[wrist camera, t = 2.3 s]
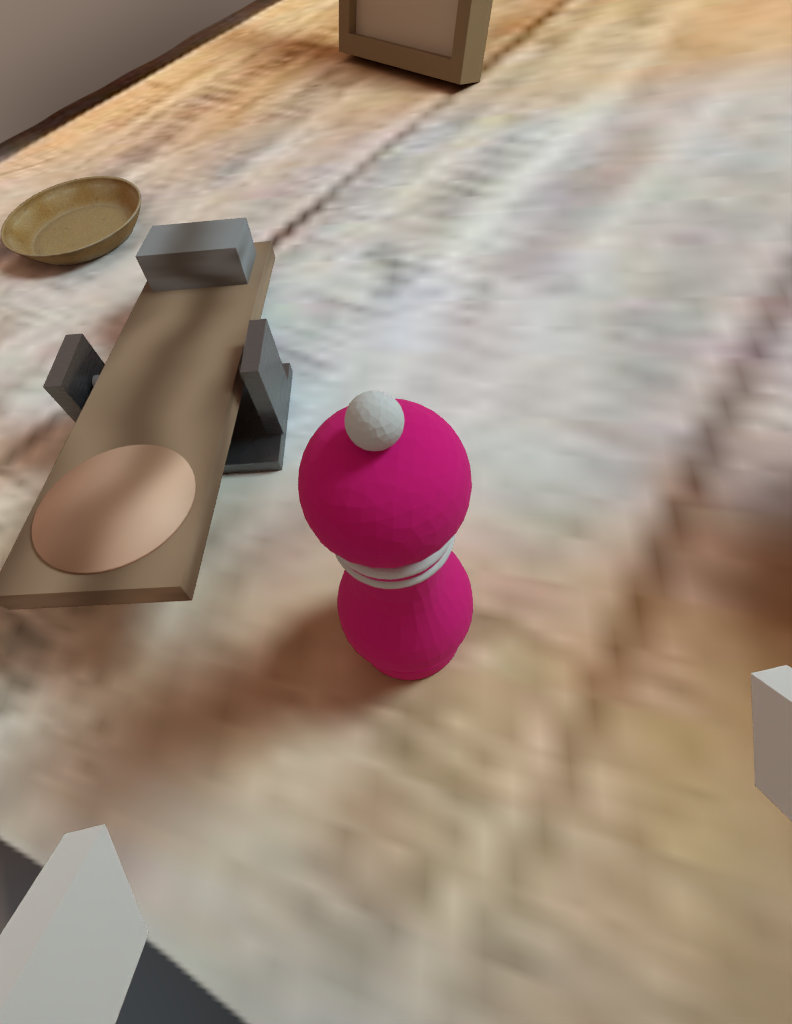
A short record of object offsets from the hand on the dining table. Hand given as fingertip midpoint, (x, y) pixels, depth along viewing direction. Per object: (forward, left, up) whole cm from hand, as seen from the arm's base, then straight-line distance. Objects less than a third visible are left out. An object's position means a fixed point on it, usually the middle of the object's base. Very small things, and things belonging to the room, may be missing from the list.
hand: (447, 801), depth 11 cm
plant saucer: (+35, -56, -19) cm, 69 cm away
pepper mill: (+1, -10, -19) cm, 22 cm away
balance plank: (+17, -27, -14) cm, 35 cm away
